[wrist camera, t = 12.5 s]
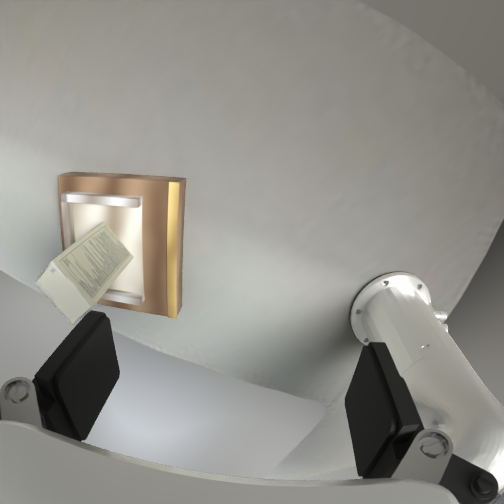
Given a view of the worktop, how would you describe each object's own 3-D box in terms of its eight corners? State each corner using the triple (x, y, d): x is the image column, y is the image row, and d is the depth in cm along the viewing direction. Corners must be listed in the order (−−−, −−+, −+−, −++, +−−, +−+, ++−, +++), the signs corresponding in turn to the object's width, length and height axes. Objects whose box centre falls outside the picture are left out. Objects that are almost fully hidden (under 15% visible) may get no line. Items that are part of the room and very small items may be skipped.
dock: (186, 178, 38) (176, 184, 34) (181, 306, 45) (173, 324, 40) (70, 172, 38) (51, 178, 34) (79, 288, 45) (65, 302, 40)
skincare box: (85, 239, 38) (31, 281, 27) (105, 219, 37) (50, 257, 26) (115, 275, 40) (71, 327, 28) (137, 257, 39) (93, 307, 27)
